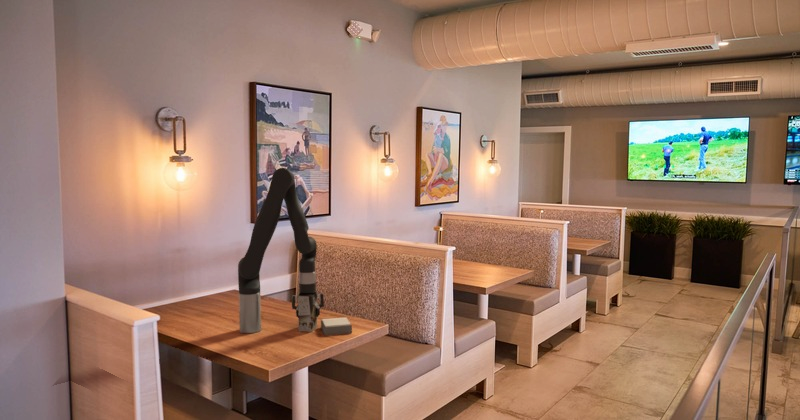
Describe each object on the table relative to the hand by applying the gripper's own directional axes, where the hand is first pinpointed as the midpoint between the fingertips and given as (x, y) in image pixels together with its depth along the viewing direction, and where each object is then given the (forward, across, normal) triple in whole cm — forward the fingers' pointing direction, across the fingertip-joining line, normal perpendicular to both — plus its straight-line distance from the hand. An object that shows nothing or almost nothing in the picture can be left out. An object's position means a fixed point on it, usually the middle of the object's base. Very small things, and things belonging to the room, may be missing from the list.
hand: (308, 317), depth 254 cm
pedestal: (+5, +12, -6) cm, 14 cm away
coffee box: (+6, 0, 0) cm, 6 cm away
